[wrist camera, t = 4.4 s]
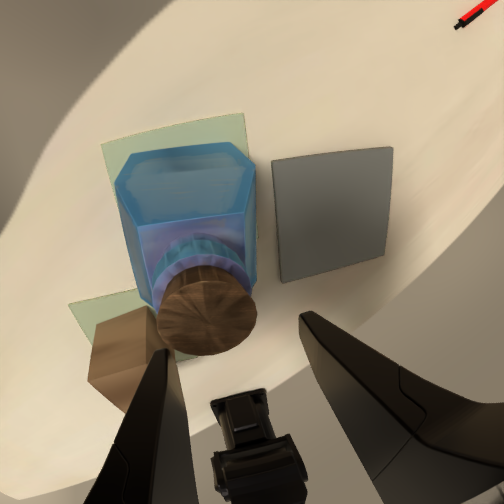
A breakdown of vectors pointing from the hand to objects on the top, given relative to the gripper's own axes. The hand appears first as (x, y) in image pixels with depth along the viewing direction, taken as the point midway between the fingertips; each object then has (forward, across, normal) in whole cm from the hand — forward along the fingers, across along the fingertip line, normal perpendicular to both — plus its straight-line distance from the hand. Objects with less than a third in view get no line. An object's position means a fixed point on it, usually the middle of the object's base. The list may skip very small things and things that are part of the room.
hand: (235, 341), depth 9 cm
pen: (+14, -32, -18) cm, 39 cm away
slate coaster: (+13, -10, +4) cm, 17 cm away
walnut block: (+13, +8, +11) cm, 18 cm away
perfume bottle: (+13, +1, 0) cm, 13 cm away
